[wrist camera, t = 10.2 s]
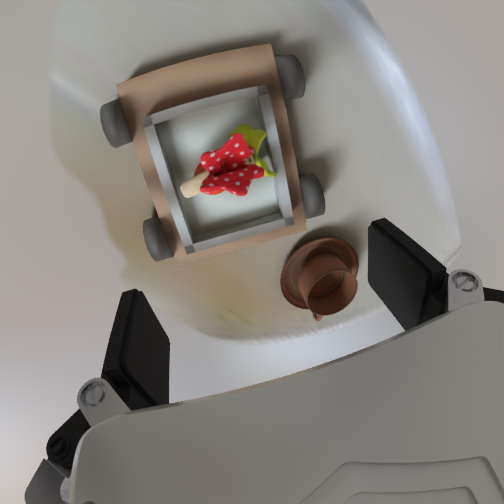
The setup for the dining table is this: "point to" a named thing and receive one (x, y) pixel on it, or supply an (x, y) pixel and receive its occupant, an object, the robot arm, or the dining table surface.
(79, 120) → the dining table surface
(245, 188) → the bird rattle
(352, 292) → the cup and saucer
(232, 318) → the dining table surface
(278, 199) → the chassis
